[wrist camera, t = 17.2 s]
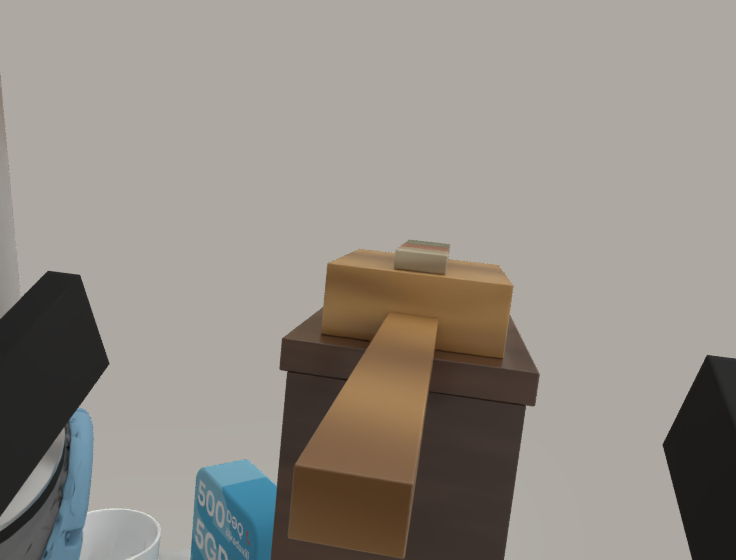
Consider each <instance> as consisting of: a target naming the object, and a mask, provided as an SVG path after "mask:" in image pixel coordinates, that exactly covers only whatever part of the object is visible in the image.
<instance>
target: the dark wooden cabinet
mask: <svg viewBox="0 0 736 560" xmlns="http://www.w3.org/2000/svg"><path fill="white" fill-rule="evenodd" d="M322 316H323V307H322V308H321V309H320V310H319V311H317V312H316V313H315V314H313V315H312V316H311V317H309V318H308V319H307V320H306V321H304V322H303V323H302V324H300V325H299V326H298V327H296V328H295V329H294V330H293V331H291V332H290V333H289V334H288V335H286V336H285V337H283V338H282V345H281V356H280V357H281V358H280V370H283V371H288V372H287V379H286V391H285V402H284V413H283V424H282V436H281V447H280V458H279V469H278V481H277V492H276V503H275V514H274V526H273V537H272V548H271V559H270V560H504V556H505V548H506V542H507V535H508V527H509V521H510V513H511V507H512V500H513V493H514V486H515V479H516V472H517V465H518V458H519V451H520V444H521V438H522V431H523V424H524V416H525V410H526V405H527V406H535V403H536V396H537V389H538V382H539V376H540V374H539V372H538V370H537V368H536V366H535V364H534V362H533V360H532V358H531V356H530V354H529V352H528V350H527V348H526V346H525V344H524V342H523V340H522V338H521V336H520V334H519V332H518V330H517V328H516V326H515V324H514V322H513V320H512V318H511V316H510V315H509V322H508V329H507V337H506V344H505V351H504V358H503V359H501V358H493V357H486V356H478V355H471V354H464V353H456V352H449V351H441V350H435V352H434V359H433V366H432V372H431V379H430V386H429V393H428V400H427V407H426V414H425V421H424V428H423V435H422V442H421V449H420V455H419V462H418V469H417V476H416V483H415V490H414V497H413V504H412V511H411V518H410V525H409V532H408V538H407V545H406V552H405V557H404V558H403V559H401V558H396V557H390V556H384V555H379V554H373V553H368V552H362V551H357V550H351V549H345V548H340V547H334V546H329V545H323V544H317V543H312V542H306V541H301V540H295V539H290V538H288V527H289V516H290V505H291V494H292V483H293V473H294V465H295V463H296V462H297V460H298V459H299V457H300V455H301V454H302V452H303V451H304V449H305V447H306V446H307V444H308V443H309V441H310V439H311V438H312V436H313V435H314V433H315V431H316V430H317V428H318V426H319V425H320V423H321V422H322V420H323V418H324V417H325V415H326V414H327V412H328V410H329V409H330V407H331V406H332V404H333V402H334V401H335V399H336V398H337V396H338V394H339V393H340V391H341V389H342V388H343V386H344V385H345V383H346V381H347V380H348V378H349V377H350V375H351V373H352V372H353V370H354V369H355V367H356V365H357V364H358V362H359V361H360V359H361V357H362V356H363V354H364V352H365V351H366V349H367V348H368V346H369V344H370V343H371V341H367V340H360V339H352V338H345V337H338V336H330V335H323V334H321V326H322Z"/></svg>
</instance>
